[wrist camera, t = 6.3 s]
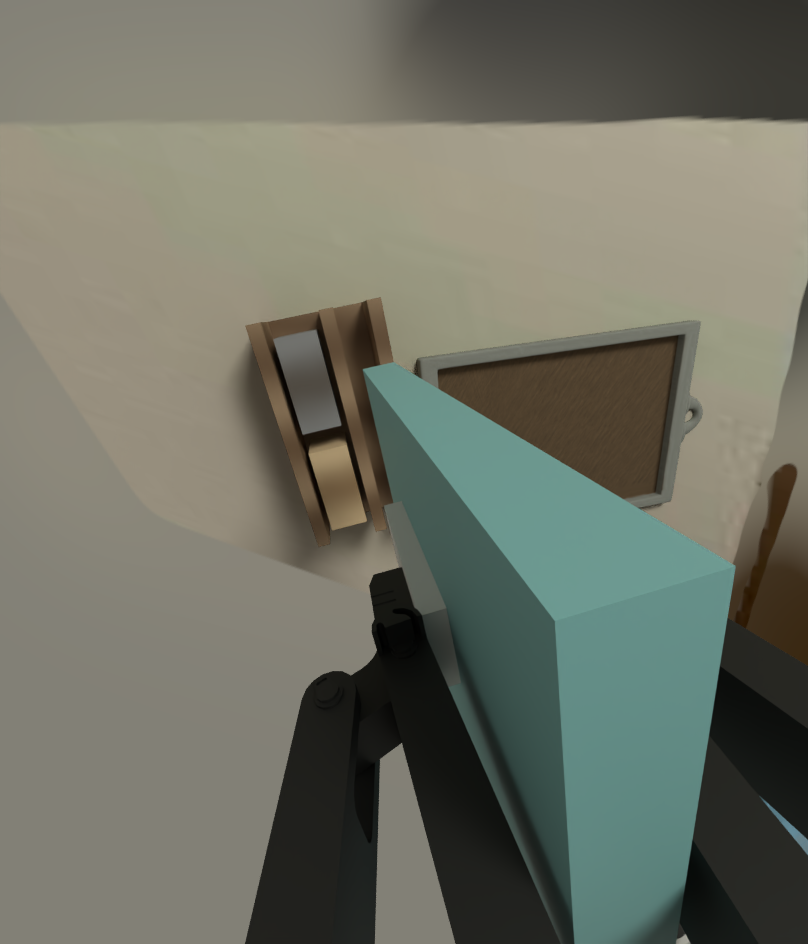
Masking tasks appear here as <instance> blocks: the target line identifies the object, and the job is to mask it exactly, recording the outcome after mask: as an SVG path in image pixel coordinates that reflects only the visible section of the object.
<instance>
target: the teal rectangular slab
mask: <svg viewBox="0 0 808 944" xmlns="http://www.w3.org/2000/svg"><path fill="white" fill-rule="evenodd" d="M363 373H364V378H365V382H366V386H367V391H368V395H369V399H370V404H371V408H372V412H373V417H374V421H375V425H376V430H377V434H378V438H379V443H380V447H381V451H382V456H383V460H384V464H385V469H386V473H387V477H388V482H389V486H390V490H391V495H392V499H393V503H396V502H400V501H402V503H403V506H404V508H405V510H406V513H407V515H408V518H409V520H410V522H411V525H412V527H413V530H414V532H415V534H416V537H417V539H418V541H419V544H420V546H421V549H422V551H423V553H424V556H425V558H426V561H427V563H428V565H429V568H430V570H431V572H432V575H433V577H434V580H435V582H436V584H437V587H438V589H439V592H440V594H441V596H442V599H443V601H444V603H445V606H446V608H447V613H448V619H449V624H450V629H451V634H452V639H453V644H454V649H455V654H456V660H457V665H458V670H459V675H460V680H461V683H459V684H456V685H453V686H450V687H449V690H450V692H451V694H452V696H453V699H454V701H455V703H456V705H457V708H458V710H459V712H460V715H461V717H462V719H463V721H464V724H465V726H466V728H467V731H468V733H469V735H470V737H471V740H472V742H473V744H474V747H475V749H476V751H477V753H478V756H479V758H480V760H481V763H482V765H483V767H484V769H485V772H486V774H487V776H488V779H489V781H490V783H491V785H492V788H493V790H494V792H495V795H496V797H497V799H498V801H499V804H500V806H501V808H502V810H503V813H504V815H505V817H506V820H507V822H508V824H509V826H510V829H511V831H512V833H513V836H514V838H515V840H516V842H517V845H518V847H519V849H520V852H521V854H522V856H523V858H524V861H525V863H526V865H527V868H528V870H529V872H530V874H531V877H532V879H533V881H534V884H535V886H536V888H537V890H538V893H539V895H540V897H541V900H542V902H543V904H544V906H545V909H546V911H547V913H548V916H549V918H550V920H551V922H552V925H553V927H554V929H555V931H556V934H557V936H558V938H559V941H560V943H561V944H676V940H677V934H678V928H679V921H680V915H681V909H682V902H683V896H684V890H685V883H686V877H687V871H688V864H689V858H690V852H691V845H692V839H693V833H694V826H695V820H696V814H697V807H698V801H699V795H700V788H701V782H702V776H703V769H704V763H705V757H706V750H707V744H708V738H709V731H710V725H711V719H712V712H713V706H714V700H715V693H716V687H717V681H718V674H719V668H720V662H721V655H722V649H723V643H724V636H725V630H726V624H727V617H728V611H729V604H730V598H731V592H732V586H733V579H734V573H735V566H734V565H733V564H731V563H729V562H728V561H726V560H724V559H723V558H721V557H719V556H718V555H716V554H714V553H713V552H711V551H709V550H708V549H706V548H704V547H703V546H701V545H699V544H698V543H696V542H694V541H692V540H691V539H689V538H687V537H686V536H684V535H682V534H681V533H679V532H677V531H676V530H674V529H672V528H671V527H669V526H667V525H666V524H664V523H662V522H661V521H659V520H657V519H656V518H654V517H652V516H651V515H649V514H647V513H646V512H644V511H642V510H641V509H639V508H637V507H635V506H634V505H632V504H630V503H629V502H627V501H625V500H624V499H622V498H620V497H619V496H617V495H615V494H614V493H612V492H610V491H609V490H607V489H605V488H604V487H602V486H600V485H599V484H597V483H595V482H594V481H592V480H590V479H589V478H587V477H585V476H584V475H582V474H580V473H578V472H577V471H575V470H573V469H572V468H570V467H568V466H567V465H565V464H563V463H562V462H560V461H558V460H557V459H555V458H553V457H552V456H550V455H548V454H547V453H545V452H543V451H542V450H540V449H538V448H537V447H535V446H533V445H532V444H530V443H528V442H527V441H525V440H523V439H522V438H520V437H518V436H516V435H515V434H513V433H511V432H510V431H508V430H506V429H505V428H503V427H501V426H500V425H498V424H496V423H495V422H493V421H491V420H490V419H488V418H486V417H485V416H483V415H481V414H480V413H478V412H476V411H475V410H473V409H471V408H470V407H468V406H466V405H465V404H463V403H461V402H459V401H458V400H456V399H454V398H453V397H451V396H449V395H448V394H446V393H444V392H443V391H441V390H439V389H438V388H436V387H434V386H433V385H431V384H429V383H428V382H426V381H424V380H423V379H421V378H419V377H418V376H416V375H414V374H413V373H411V372H409V371H408V370H406V369H404V368H402V367H401V366H399V365H397V364H396V363H394V362H392V363H388V364H383V365H379V366H375V367H370V368H366V369H363Z"/></svg>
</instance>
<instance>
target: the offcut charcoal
mask: <svg viewBox="0 0 808 944" xmlns="http://www.w3.org/2000/svg"><path fill="white" fill-rule="evenodd" d="M273 340H274V344H275V347H276V350H277V353H278V357H279V360H280V363H281V366H282V369H283V373H284V376H285V379H286V382H287V386H288V389H289V392H290V395H291V399H292V402H293V405H294V408H295V411H296V415H297V418H298V421H299V424H300V428H301V431H302V434H303V435H304V434H308V433H312V432H316V431H320V430H324V429H329V428H333V427H337V426H341V419H340V413H339V409H338V406H337V402H336V398H335V394H334V391H333V387H332V383H331V379H330V375H329V372H328V368H327V364H326V360H325V357H324V353H323V349H322V345H321V341H320V338H319V334H318V330H317V329H314V330H309V331H305V332H300V333H295V334H291V335H286V336H281V337H278V338H275V339H273Z"/></svg>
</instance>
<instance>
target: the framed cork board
mask: <svg viewBox="0 0 808 944" xmlns="http://www.w3.org/2000/svg"><path fill="white" fill-rule="evenodd" d="M700 323H701V322H700V321H683V322H675V323H668V324H661V325H654V326H646V327H639V328H632V329H624V330H617V331H610V332H603V333H595V334H588V335H581V336H574V337H566V338H559V339H552V340H544V341H537V342H530V343H523V344H515V345H508V346H501V347H493V348H486V349H479V350H472V351H464V352H457V353H450V354H442V355H435V356H428V357H421V358H418V359H417V371H418V377H419V378H421V379H423V380H424V381H426V382H428V383H429V384H431V385H433V386H434V387H436V388H438V389H439V390H441V391H443V392H444V393H446V394H448V395H449V396H451V397H453V398H454V399H456V400H458V401H459V402H461V403H463V404H465V405H466V406H468V407H470V408H471V409H473V410H475V411H476V412H478V413H480V414H481V415H483V416H485V417H486V418H488V419H490V420H491V421H493V422H495V423H496V424H498V425H500V426H501V427H503V428H505V429H506V430H508V431H510V432H511V433H513V434H515V435H516V436H518V437H520V438H522V439H523V440H525V441H527V442H528V443H530V444H532V445H533V446H535V447H537V448H538V449H540V450H542V451H543V452H545V453H547V454H548V455H550V456H552V457H553V458H555V459H557V460H558V461H560V462H562V463H563V464H565V465H567V466H568V467H570V468H572V469H573V470H575V471H577V472H578V473H580V474H582V475H584V476H585V477H587V478H589V479H590V480H592V481H594V482H595V483H597V484H599V485H600V486H602V487H604V488H605V489H607V490H609V491H610V492H612V493H614V494H615V495H617V496H619V497H620V498H622V499H624V500H625V501H627V502H629V503H630V504H632V505H634V506H635V507H637V508H641V507H646V506H651V505H656V504H661V503H666V502H670V501H671V499H672V494H673V488H674V482H675V476H676V470H677V464H678V458H679V452H680V445H681V443H682V441H683V439H684V436H685V434H687V433H689V432H690V431H691V430H692V429H693V428H694V427H695V426H696V425H697V424H698V423H699V421H700V419H701V417H702V413H703V410H702V406H701V404H700V402H699V401H698V400H697V399H696V398H694V397H692V396H690V393H689V391H690V385H691V379H692V373H693V367H694V361H695V355H696V349H697V343H698V336H699V330H700ZM689 409H692V410H693V416H692V418H691V419H690V420H689V421H687V422H684V421H685V415H686V414H687V412H688V410H689Z"/></svg>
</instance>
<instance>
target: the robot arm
mask: <svg viewBox="0 0 808 944" xmlns="http://www.w3.org/2000/svg"><path fill="white" fill-rule="evenodd" d="M384 508H385V512H386V516H387V521H388V525H389V529H390V533H391V537H392V541H393V545H394V549H395V554H396V558H397V562H398V565H399V568H396V569H393V570H389V571H386V572H382V573H378V574H375V575H373V578H372V580H371V583H370V585H369V587H370V593H371V598H372V605H373V611H374V618H375V620H374V622H373V624H372V635H373V638H374V641H375V645H376V648H377V652H376V654H375V656H374V657H373V659H372V660H371V661H370V662H369V663H368V664H367V665H366V666H365V667H363V668H362V669H361V670H359V671H357V672H356V673H354V674H353V675H351V676H350V675H349V674H347V673H344V672H343V671H332V672H329V673H326V674H323V675H321V676H320V677H318V678H317V679H316V680H314V681H313V682H312V683H311V684H310V686H309V687H308V688H307V689H306V691H305V693H304V696H303V698H302V701H301V706H300V710H299V714H298V718H297V722H296V727H295V731H294V736H293V740H292V744H291V748H290V753H289V757H288V761H287V766H286V770H285V774H284V779H283V783H282V787H281V792H280V796H279V800H278V805H277V809H276V813H275V817H274V821H273V826H272V830H271V834H270V839H269V843H268V847H267V852H266V856H265V860H264V865H263V869H262V874H261V877H260V882H259V886H258V890H257V895H256V899H255V903H254V908H253V912H252V917H251V921H250V925H249V929H248V933H247V938H246V942H245V944H375V913H376V911H375V910H376V909H375V908H376V877H377V843H378V842H377V841H378V840H377V839H378V806H379V772H380V771H379V769H380V758H382V757H383V756H384V755H386V754H387V753H388V752H390V751H391V750H393V749H394V748H395V747H397V746H398V745H399V744H401V743H402V744H403V748H404V752H405V756H406V760H407V763H408V767H409V771H410V775H411V778H412V782H413V785H414V790H415V793H416V797H417V801H418V805H419V808H420V812H421V816H422V819H423V823H424V827H425V831H426V835H427V838H428V842H429V846H430V850H431V853H432V857H433V861H434V865H435V868H436V872H437V876H438V880H439V883H440V887H441V891H442V895H443V898H444V902H445V906H446V910H447V913H448V917H449V921H450V924H451V928H452V932H453V935H454V940H455V943H456V944H561V943H560V941H559V938H558V936H557V934H556V931H555V929H554V927H553V925H552V922H551V920H550V918H549V916H548V913H547V911H546V909H545V906H544V904H543V902H542V900H541V897H540V895H539V893H538V890H537V888H536V886H535V884H534V881H533V879H532V877H531V874H530V872H529V870H528V868H527V865H526V863H525V861H524V858H523V856H522V854H521V852H520V849H519V847H518V845H517V842H516V840H515V838H514V836H513V833H512V831H511V829H510V826H509V824H508V822H507V820H506V817H505V815H504V813H503V810H502V808H501V806H500V804H499V801H498V799H497V797H496V795H495V792H494V790H493V788H492V785H491V783H490V781H489V779H488V776H487V774H486V772H485V769H484V767H483V765H482V763H481V760H480V758H479V756H478V753H477V751H476V749H475V747H474V744H473V742H472V740H471V737H470V735H469V733H468V731H467V728H466V726H465V724H464V721H463V719H462V717H461V715H460V712H459V710H458V708H457V705H456V703H455V701H454V699H453V696H452V694H451V692H450V690H449V687H450V686H453V685H456V684H459V683H461V680H460V675H459V670H458V665H457V660H456V654H455V649H454V644H453V639H452V634H451V629H450V624H449V619H448V613H447V608H446V606H445V603H444V601H443V599H442V596H441V594H440V592H439V589H438V587H437V584H436V582H435V580H434V577H433V575H432V572H431V570H430V568H429V565H428V563H427V561H426V558H425V556H424V553H423V551H422V549H421V546H420V544H419V541H418V539H417V537H416V534H415V532H414V530H413V527H412V525H411V522H410V520H409V518H408V515H407V513H406V510H405V508H404V506H403V503H402V501H400V502H396V503H392V504H388V505H384ZM676 944H808V666H807V665H805V664H804V663H802V662H800V661H798V660H797V659H795V658H794V657H792V656H790V655H789V654H787V653H785V652H783V651H782V650H780V649H779V648H777V647H775V646H774V645H772V644H770V643H768V642H767V641H765V640H764V639H762V638H760V637H758V636H757V635H755V634H753V633H752V632H750V631H748V630H747V629H745V628H743V627H742V626H740V625H738V624H737V623H735V622H733V621H732V620H730V619H728V618H727V624H726V630H725V636H724V643H723V649H722V655H721V662H720V668H719V674H718V681H717V687H716V693H715V700H714V706H713V712H712V719H711V725H710V731H709V738H708V744H707V750H706V757H705V763H704V769H703V776H702V782H701V788H700V795H699V801H698V807H697V814H696V820H695V826H694V833H693V839H692V845H691V852H690V858H689V864H688V871H687V877H686V883H685V890H684V896H683V902H682V909H681V915H680V921H679V928H678V934H677V940H676Z"/></svg>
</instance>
